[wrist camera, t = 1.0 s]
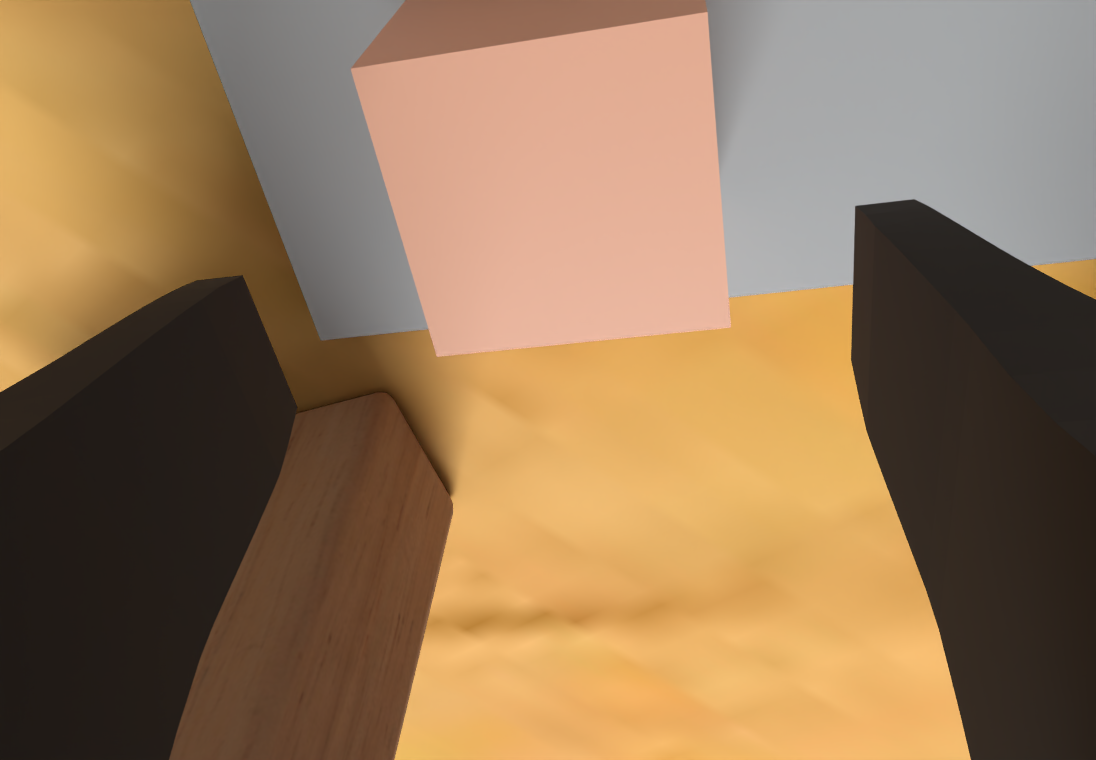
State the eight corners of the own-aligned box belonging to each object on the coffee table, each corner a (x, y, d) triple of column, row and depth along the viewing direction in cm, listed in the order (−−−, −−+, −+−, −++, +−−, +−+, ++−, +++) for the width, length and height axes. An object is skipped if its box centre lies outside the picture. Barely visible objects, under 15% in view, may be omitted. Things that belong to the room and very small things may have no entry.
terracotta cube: (712, 195, 19) (730, 327, 15) (479, 224, 20) (436, 356, 16) (691, -65, 16) (707, 12, 12) (419, -19, 17) (350, 68, 13)
